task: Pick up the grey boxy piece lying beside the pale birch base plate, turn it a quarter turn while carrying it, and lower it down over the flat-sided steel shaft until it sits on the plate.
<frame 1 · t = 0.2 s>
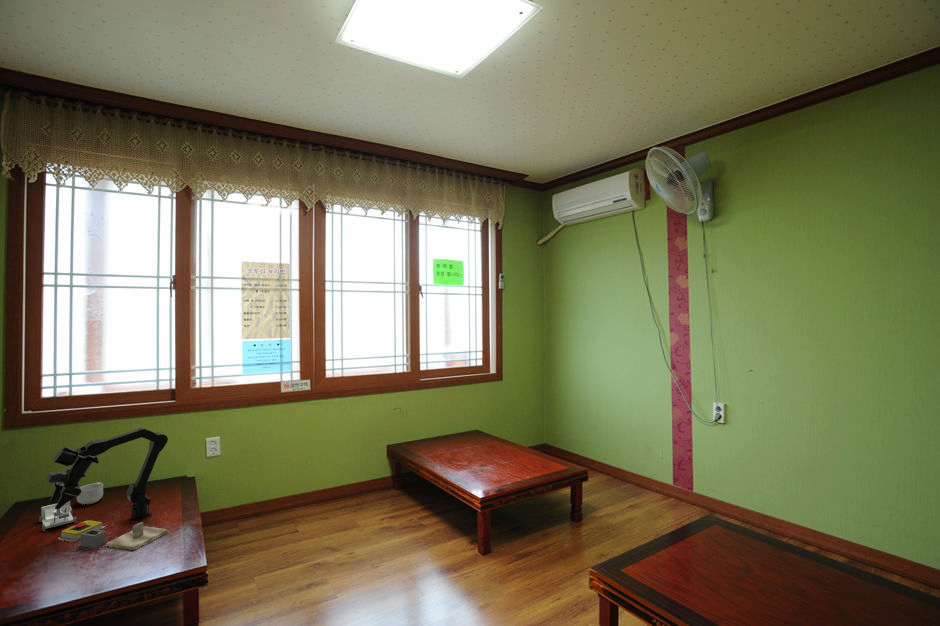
hand: (53, 505, 198), 15 cm above the table, tool tilted 30°, fingers open, 9 cm apart
teacup: (92, 501, 239), on the table
emergency button: (82, 534, 206), on the table
grey boxy piece: (93, 544, 195), on the table
white piece: (58, 524, 214), on the table
shaft plate: (137, 539, 200), on the table
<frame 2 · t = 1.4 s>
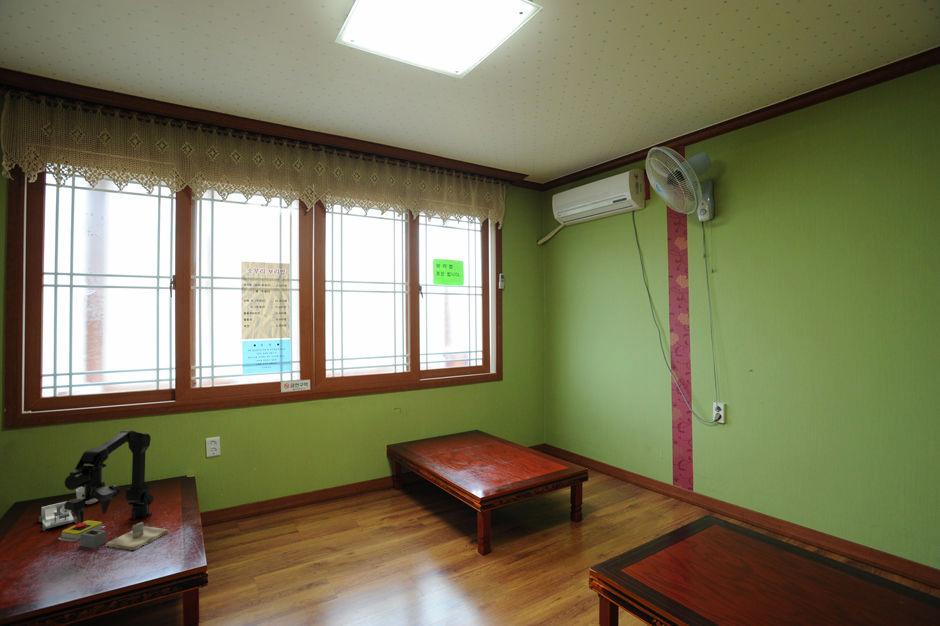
hand: (92, 518, 195), 11 cm above the table, tool pointing down, fingers open, 9 cm apart
nothing on the table moved.
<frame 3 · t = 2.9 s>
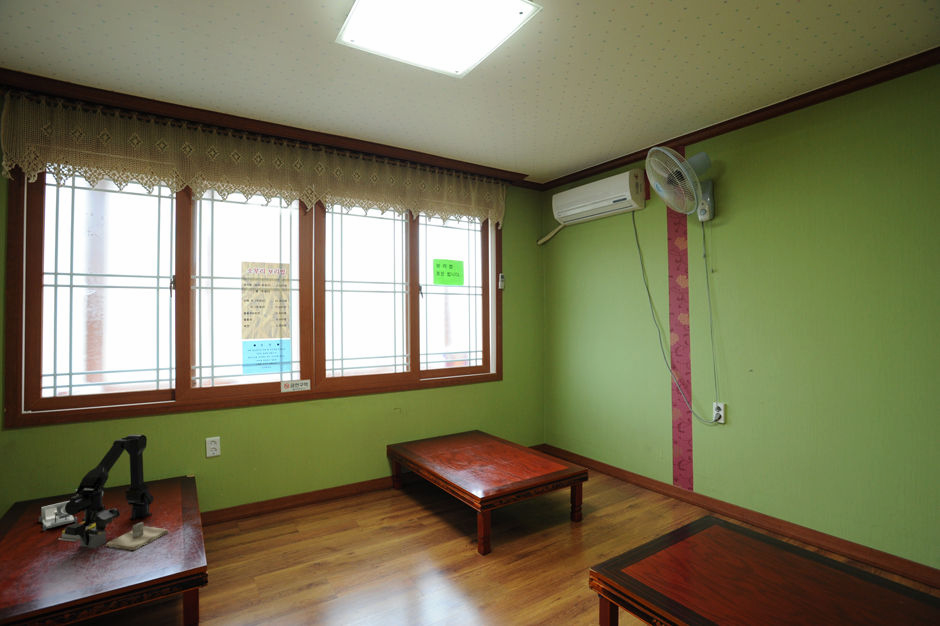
hand: (93, 541, 195), 1 cm above the table, tool pointing down, fingers closed on grey boxy piece, 5 cm apart
grey boxy piece: (93, 544, 195), on the table, touching gripper
everything else where it was.
when the fingers open (3 cm above the table, at t = 7.3 s): grey boxy piece stays where it is, resting on shaft plate.
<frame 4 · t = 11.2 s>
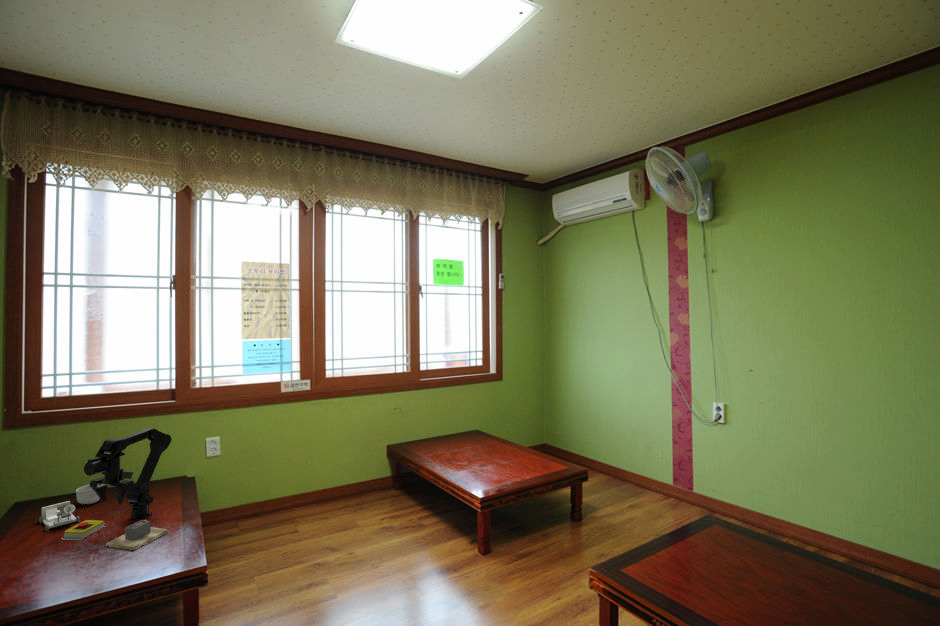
hand: (112, 503, 208), 12 cm above the table, tool pointing down, fingers open, 9 cm apart
grey boxy piece: (138, 536, 200), point 1 cm above the table, touching shaft plate
at the end: grey boxy piece 0.0 cm off-centre on the shaft plate, point 1.5 cm above the shaft plate's base; grey boxy piece tilted 0°; the gripper is holding nothing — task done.
